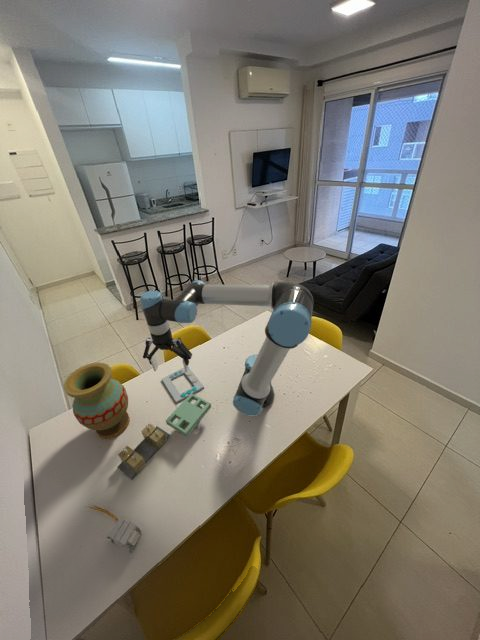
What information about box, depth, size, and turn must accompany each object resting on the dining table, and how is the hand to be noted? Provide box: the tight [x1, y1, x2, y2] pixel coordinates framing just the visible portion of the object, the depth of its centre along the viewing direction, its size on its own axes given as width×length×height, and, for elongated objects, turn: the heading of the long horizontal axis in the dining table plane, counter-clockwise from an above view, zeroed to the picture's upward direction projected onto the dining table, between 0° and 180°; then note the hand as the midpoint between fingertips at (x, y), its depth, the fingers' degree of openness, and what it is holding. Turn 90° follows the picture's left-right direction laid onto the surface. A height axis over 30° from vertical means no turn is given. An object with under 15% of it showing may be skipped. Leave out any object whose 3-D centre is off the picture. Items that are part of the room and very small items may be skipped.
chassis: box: [116, 423, 171, 481], centre depth 101 cm, size 9×20×8 cm, turn 148°
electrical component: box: [84, 503, 143, 554], centre depth 82 cm, size 24×6×5 cm, turn 69°
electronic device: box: [161, 367, 205, 404], centre depth 131 cm, size 18×2×15 cm
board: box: [165, 393, 212, 438], centre depth 109 cm, size 11×16×2 cm
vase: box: [63, 362, 130, 440], centre depth 106 cm, size 20×20×30 cm
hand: (171, 369), depth 110 cm, fingers open, 13 cm apart
